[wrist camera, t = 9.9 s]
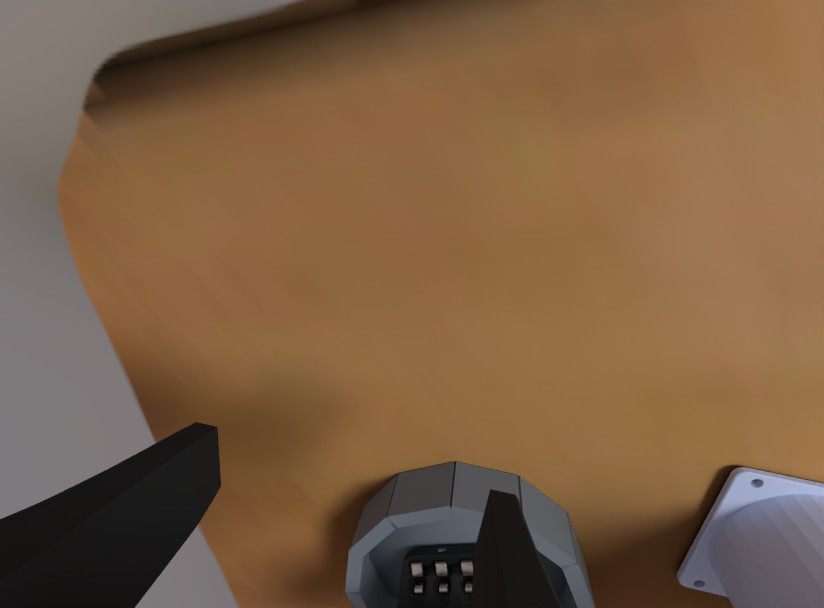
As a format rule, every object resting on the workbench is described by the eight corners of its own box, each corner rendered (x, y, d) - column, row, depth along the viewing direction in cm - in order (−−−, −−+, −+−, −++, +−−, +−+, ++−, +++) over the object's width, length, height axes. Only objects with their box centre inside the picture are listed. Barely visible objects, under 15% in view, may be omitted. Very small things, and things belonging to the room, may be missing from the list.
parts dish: (609, 495, 22) (626, 546, 19) (548, 646, 27) (555, 703, 24) (371, 442, 23) (355, 483, 21) (354, 594, 28) (339, 644, 26)
